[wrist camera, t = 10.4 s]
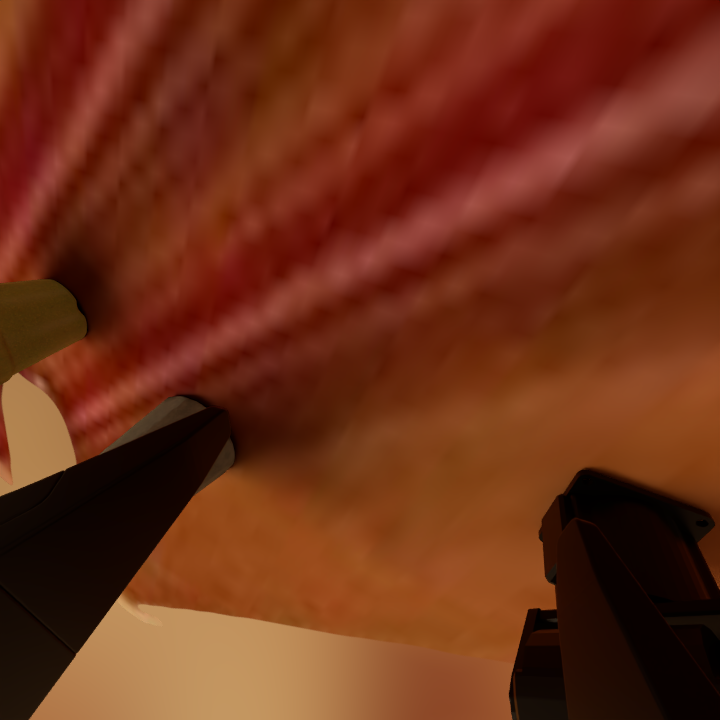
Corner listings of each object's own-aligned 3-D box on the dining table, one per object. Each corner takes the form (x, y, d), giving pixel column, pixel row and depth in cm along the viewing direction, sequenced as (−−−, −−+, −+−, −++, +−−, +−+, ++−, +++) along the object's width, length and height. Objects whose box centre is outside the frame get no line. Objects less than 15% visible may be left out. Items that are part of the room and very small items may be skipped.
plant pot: (105, 302, 31) (-21, 339, 24) (99, 371, 36) (-4, 417, 29) (26, 239, 31) (-120, 257, 24) (32, 316, 36) (-85, 349, 29)
